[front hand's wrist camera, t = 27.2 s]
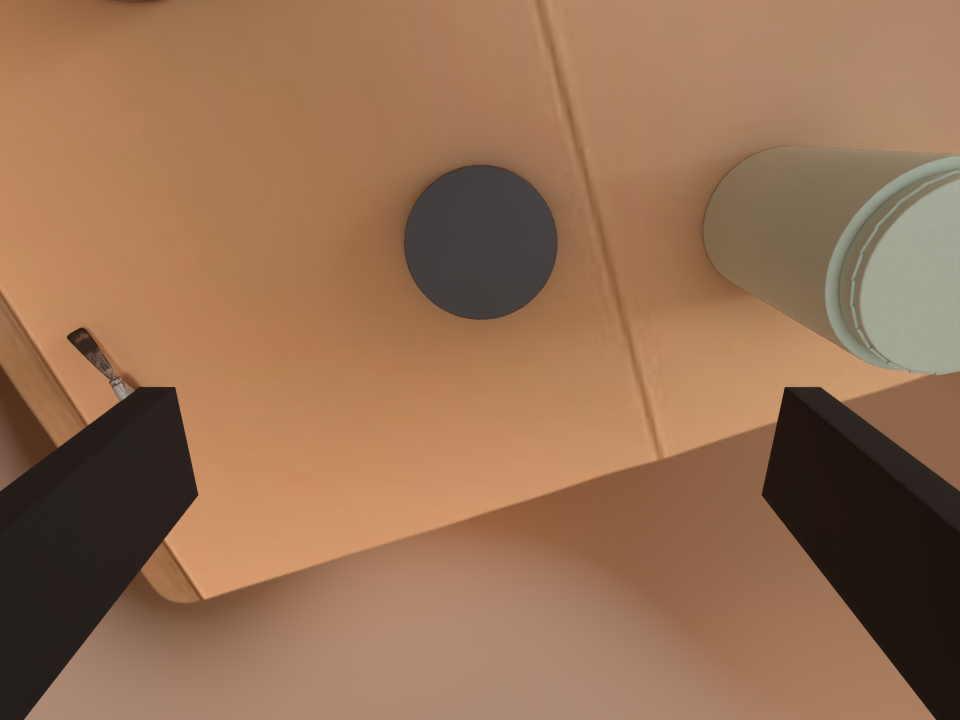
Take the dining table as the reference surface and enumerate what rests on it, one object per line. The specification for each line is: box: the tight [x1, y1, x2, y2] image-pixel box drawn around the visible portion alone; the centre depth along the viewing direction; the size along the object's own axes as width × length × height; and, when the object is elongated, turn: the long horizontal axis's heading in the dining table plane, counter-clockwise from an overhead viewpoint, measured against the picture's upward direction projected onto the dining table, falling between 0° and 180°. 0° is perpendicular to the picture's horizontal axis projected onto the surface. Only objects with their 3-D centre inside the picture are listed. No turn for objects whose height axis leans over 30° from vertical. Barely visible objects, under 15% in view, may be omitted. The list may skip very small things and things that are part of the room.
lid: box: [404, 165, 557, 320], centre depth 37 cm, size 10×10×2 cm
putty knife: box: [67, 328, 135, 401], centre depth 40 cm, size 1×8×2 cm, turn 28°
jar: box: [703, 146, 960, 375], centre depth 30 cm, size 9×9×16 cm
